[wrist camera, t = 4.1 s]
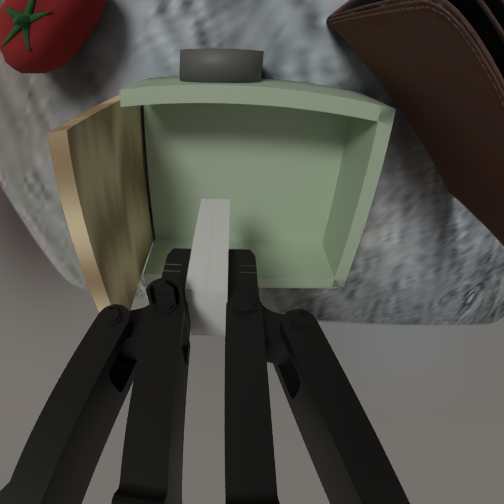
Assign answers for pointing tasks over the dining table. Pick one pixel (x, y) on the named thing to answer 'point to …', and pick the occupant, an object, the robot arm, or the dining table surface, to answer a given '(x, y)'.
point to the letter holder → (442, 85)
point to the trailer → (261, 164)
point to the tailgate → (106, 196)
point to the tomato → (45, 31)
